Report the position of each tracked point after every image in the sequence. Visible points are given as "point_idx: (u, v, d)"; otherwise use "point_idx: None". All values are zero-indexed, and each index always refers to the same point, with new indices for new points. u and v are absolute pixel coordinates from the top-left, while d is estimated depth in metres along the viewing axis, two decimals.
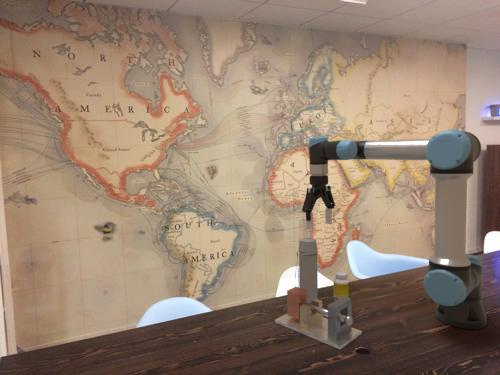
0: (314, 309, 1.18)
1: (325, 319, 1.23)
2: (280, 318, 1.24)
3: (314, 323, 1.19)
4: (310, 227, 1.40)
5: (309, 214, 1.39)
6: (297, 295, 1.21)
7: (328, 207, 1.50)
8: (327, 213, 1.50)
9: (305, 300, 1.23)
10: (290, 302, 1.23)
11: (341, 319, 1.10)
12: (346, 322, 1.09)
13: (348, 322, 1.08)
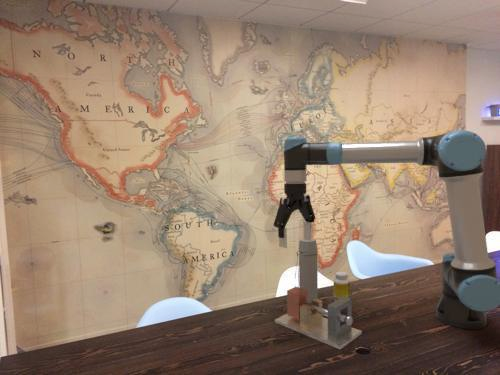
0: (314, 309, 1.18)
1: (325, 319, 1.23)
2: (280, 318, 1.24)
3: (314, 323, 1.19)
4: (283, 245, 1.17)
5: (282, 230, 1.16)
6: (297, 295, 1.21)
7: (307, 220, 1.27)
8: (306, 227, 1.27)
9: (305, 300, 1.23)
10: (290, 302, 1.23)
11: (341, 319, 1.10)
12: (346, 322, 1.09)
13: (348, 322, 1.08)
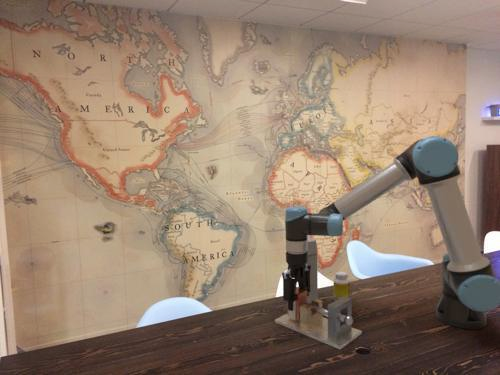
0: (314, 309, 1.18)
1: (325, 319, 1.23)
2: (280, 318, 1.24)
3: (314, 323, 1.19)
4: (293, 317, 1.22)
5: (291, 303, 1.21)
6: (297, 295, 1.21)
7: None
8: None
9: (305, 300, 1.23)
10: None
11: (341, 319, 1.10)
12: (346, 322, 1.09)
13: (348, 322, 1.08)
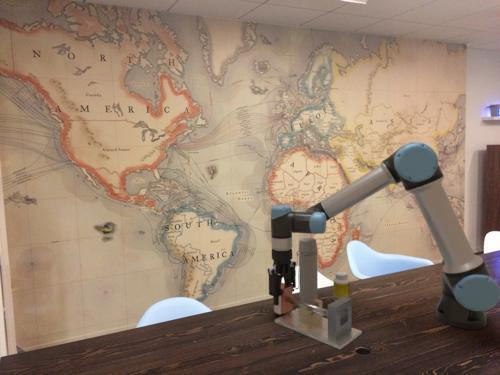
0: (298, 304, 1.22)
1: (325, 319, 1.23)
2: (280, 318, 1.24)
3: (314, 323, 1.19)
4: (278, 312, 1.26)
5: (277, 298, 1.25)
6: (282, 290, 1.25)
7: None
8: None
9: (290, 295, 1.28)
10: None
11: (323, 313, 1.15)
12: None
13: None
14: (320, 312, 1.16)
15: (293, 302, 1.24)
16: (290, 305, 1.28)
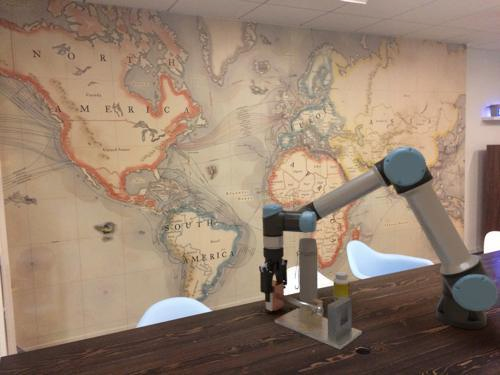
0: (289, 300, 1.25)
1: (325, 319, 1.23)
2: (280, 318, 1.24)
3: (314, 323, 1.19)
4: (269, 308, 1.29)
5: (268, 295, 1.28)
6: (273, 287, 1.28)
7: None
8: None
9: (281, 292, 1.31)
10: None
11: (313, 309, 1.18)
12: (317, 312, 1.16)
13: (318, 312, 1.16)
14: None
15: (284, 299, 1.27)
16: (281, 302, 1.31)
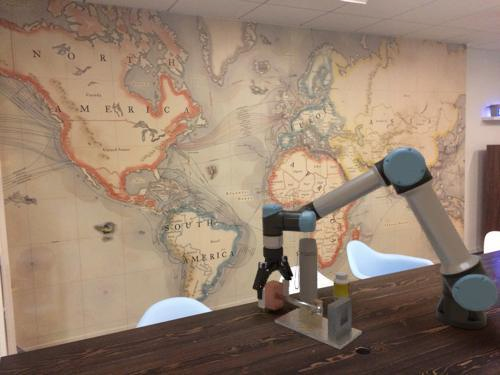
0: (288, 300, 1.26)
1: (325, 319, 1.23)
2: (280, 318, 1.24)
3: (314, 323, 1.19)
4: (262, 306, 1.27)
5: (260, 292, 1.26)
6: (273, 287, 1.28)
7: (285, 278, 1.37)
8: (284, 285, 1.36)
9: (281, 292, 1.31)
10: (267, 294, 1.31)
11: (312, 309, 1.18)
12: (317, 312, 1.16)
13: (318, 311, 1.16)
14: None
15: (284, 299, 1.27)
16: (281, 302, 1.31)
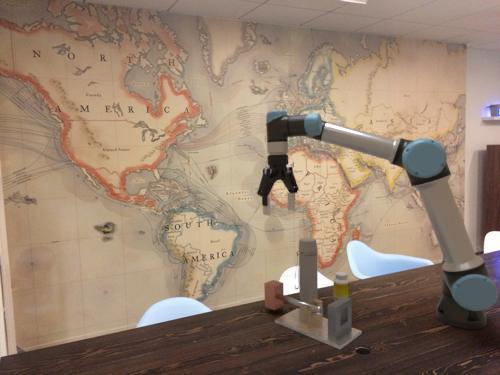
0: (288, 300, 1.26)
1: (325, 319, 1.23)
2: (280, 318, 1.24)
3: (314, 323, 1.19)
4: (267, 213, 1.23)
5: (265, 198, 1.22)
6: (273, 287, 1.28)
7: (290, 191, 1.33)
8: (289, 198, 1.33)
9: (281, 292, 1.31)
10: (267, 294, 1.31)
11: (312, 309, 1.18)
12: (317, 312, 1.16)
13: (318, 311, 1.16)
14: None
15: (284, 299, 1.27)
16: (281, 302, 1.31)
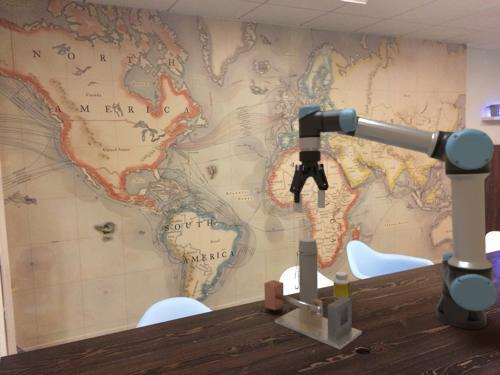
0: (288, 300, 1.26)
1: (325, 319, 1.23)
2: (280, 318, 1.24)
3: (314, 323, 1.19)
4: (299, 210, 1.20)
5: (298, 195, 1.19)
6: (273, 287, 1.28)
7: (321, 189, 1.30)
8: (319, 195, 1.30)
9: (281, 292, 1.31)
10: (267, 294, 1.31)
11: (312, 309, 1.18)
12: (317, 312, 1.16)
13: (318, 311, 1.16)
14: None
15: (284, 299, 1.27)
16: (281, 302, 1.31)
